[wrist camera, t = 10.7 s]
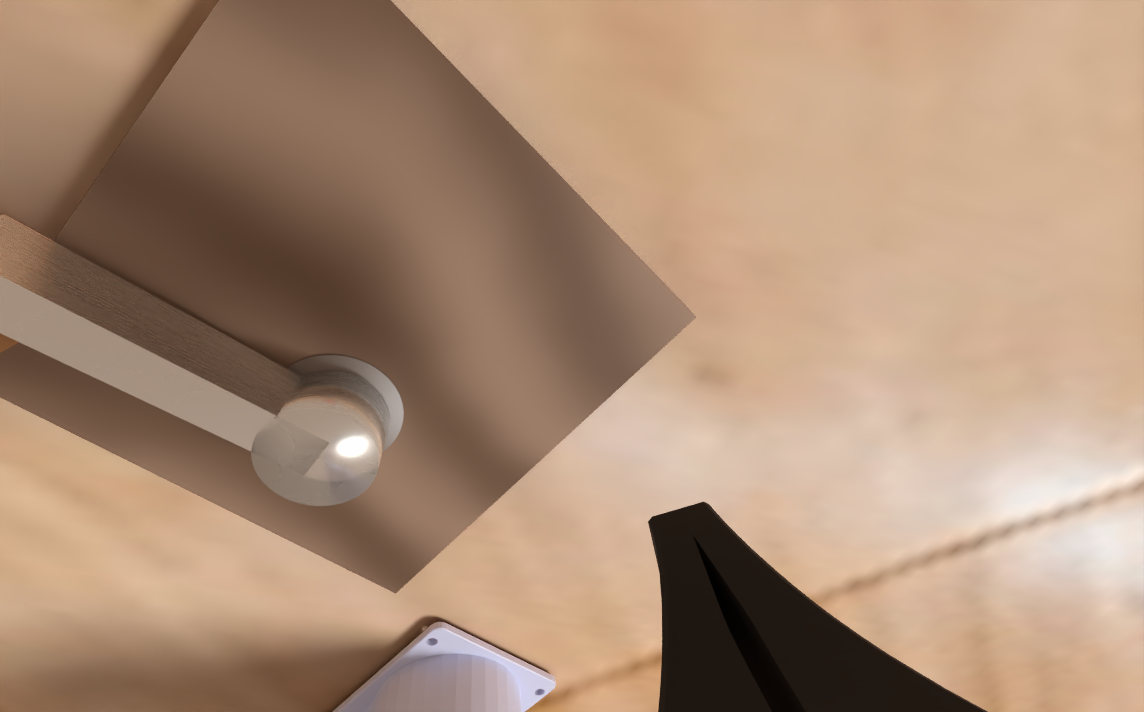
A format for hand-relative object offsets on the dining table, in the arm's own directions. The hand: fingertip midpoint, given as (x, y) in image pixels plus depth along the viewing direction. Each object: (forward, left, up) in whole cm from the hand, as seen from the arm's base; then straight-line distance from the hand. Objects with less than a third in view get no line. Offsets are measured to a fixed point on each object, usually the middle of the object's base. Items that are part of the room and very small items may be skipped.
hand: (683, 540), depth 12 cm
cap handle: (-8, +10, -8) cm, 15 cm away
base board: (-5, +7, -9) cm, 13 cm away
